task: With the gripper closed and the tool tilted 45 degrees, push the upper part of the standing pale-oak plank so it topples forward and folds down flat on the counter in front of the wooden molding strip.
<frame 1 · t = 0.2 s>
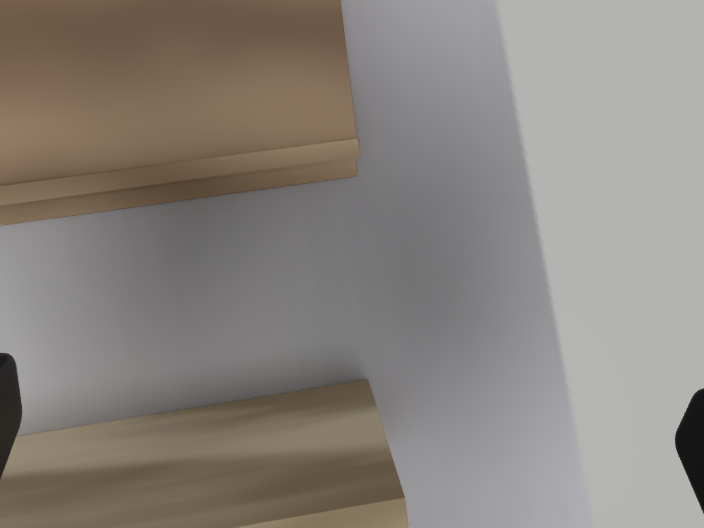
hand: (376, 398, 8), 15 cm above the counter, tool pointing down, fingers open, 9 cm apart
oak plank: (199, 440, 25), on the counter
wooden molding strip: (118, 48, 21), on the counter
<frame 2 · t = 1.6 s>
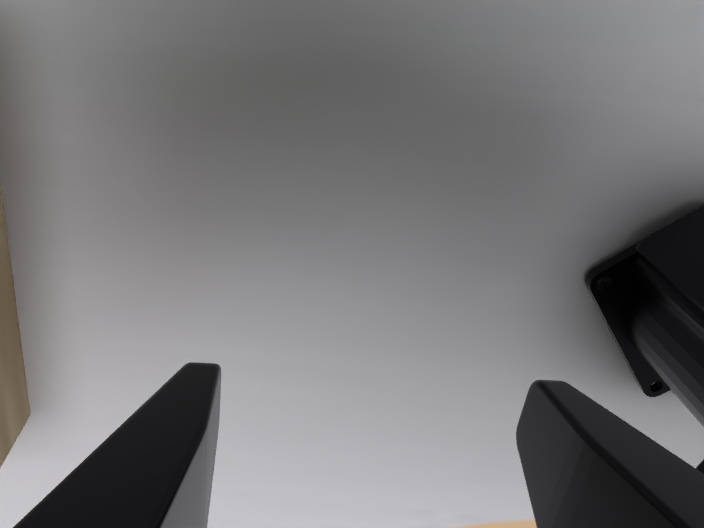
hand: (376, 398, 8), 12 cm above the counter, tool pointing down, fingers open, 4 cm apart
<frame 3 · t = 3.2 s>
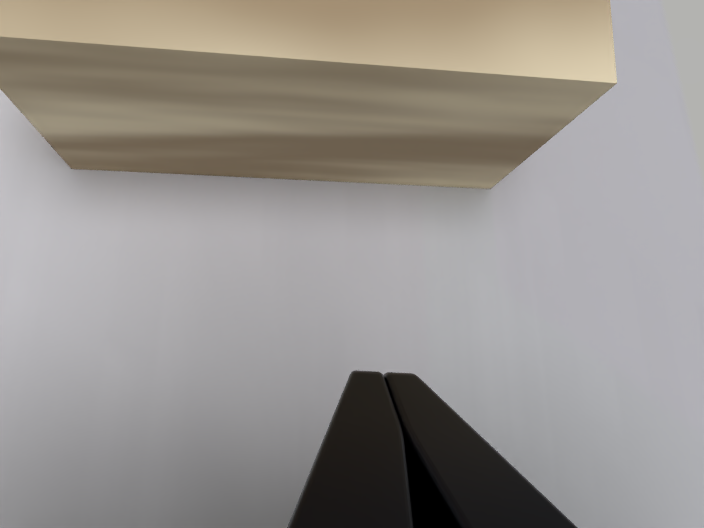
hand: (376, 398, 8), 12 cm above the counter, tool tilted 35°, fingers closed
oak plank: (291, 138, 21), on the counter
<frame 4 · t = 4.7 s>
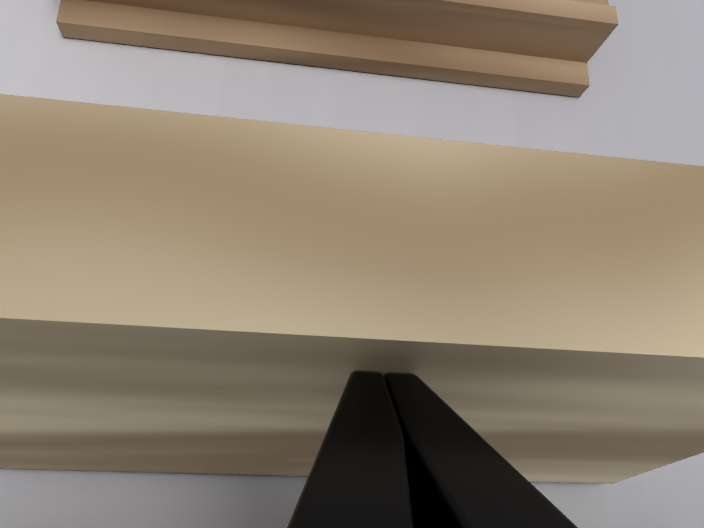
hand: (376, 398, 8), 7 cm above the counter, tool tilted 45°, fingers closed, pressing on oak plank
oak plank: (322, 410, 14), on the counter, tilted 11°, touching gripper
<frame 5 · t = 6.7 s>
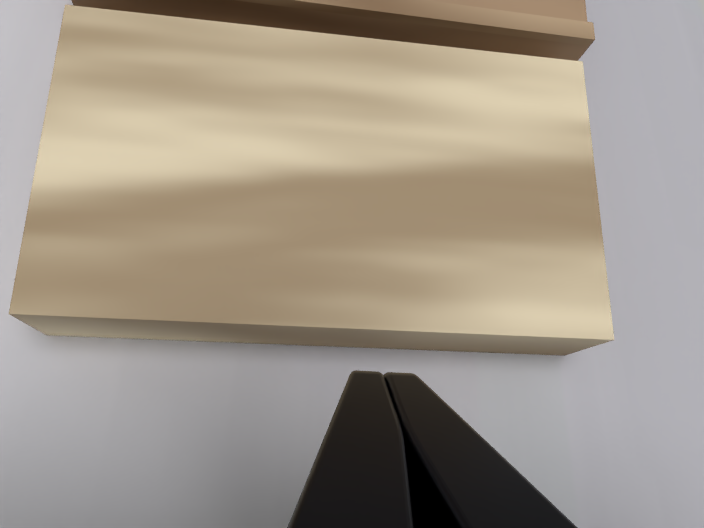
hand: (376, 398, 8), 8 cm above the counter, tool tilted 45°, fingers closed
oak plank: (325, 339, 16), point 1 cm above the counter, tilted 90°
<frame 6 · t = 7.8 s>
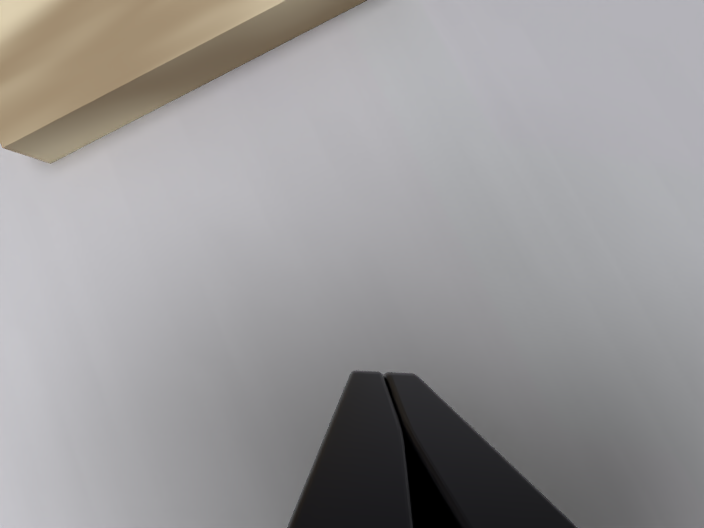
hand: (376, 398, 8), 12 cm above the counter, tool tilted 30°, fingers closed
oak plank: (216, 62, 20), point 1 cm above the counter, tilted 90°
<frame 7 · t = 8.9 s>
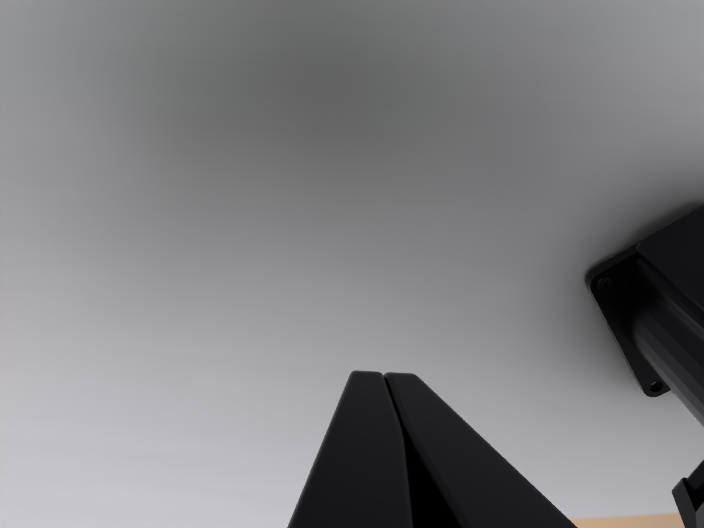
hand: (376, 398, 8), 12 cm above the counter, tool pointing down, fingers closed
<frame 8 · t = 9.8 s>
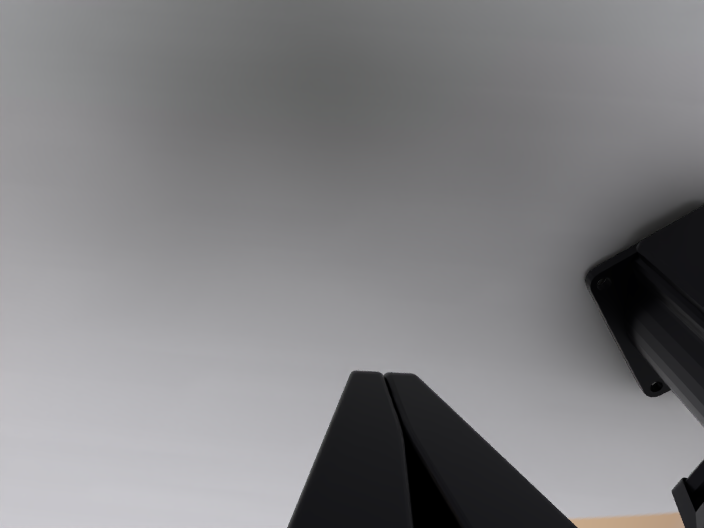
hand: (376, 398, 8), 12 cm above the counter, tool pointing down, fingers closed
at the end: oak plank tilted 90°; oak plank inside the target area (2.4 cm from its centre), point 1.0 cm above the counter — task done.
